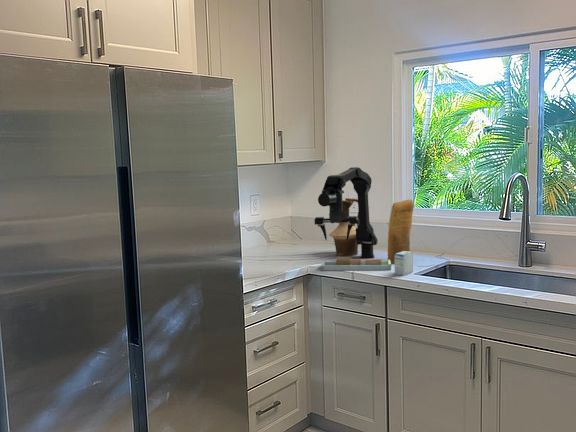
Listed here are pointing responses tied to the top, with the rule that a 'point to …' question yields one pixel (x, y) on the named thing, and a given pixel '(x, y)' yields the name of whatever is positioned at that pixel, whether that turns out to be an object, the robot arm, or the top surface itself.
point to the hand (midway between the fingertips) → (336, 239)
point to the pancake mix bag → (399, 228)
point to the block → (343, 261)
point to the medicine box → (403, 263)
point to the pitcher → (340, 233)
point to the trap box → (332, 265)
